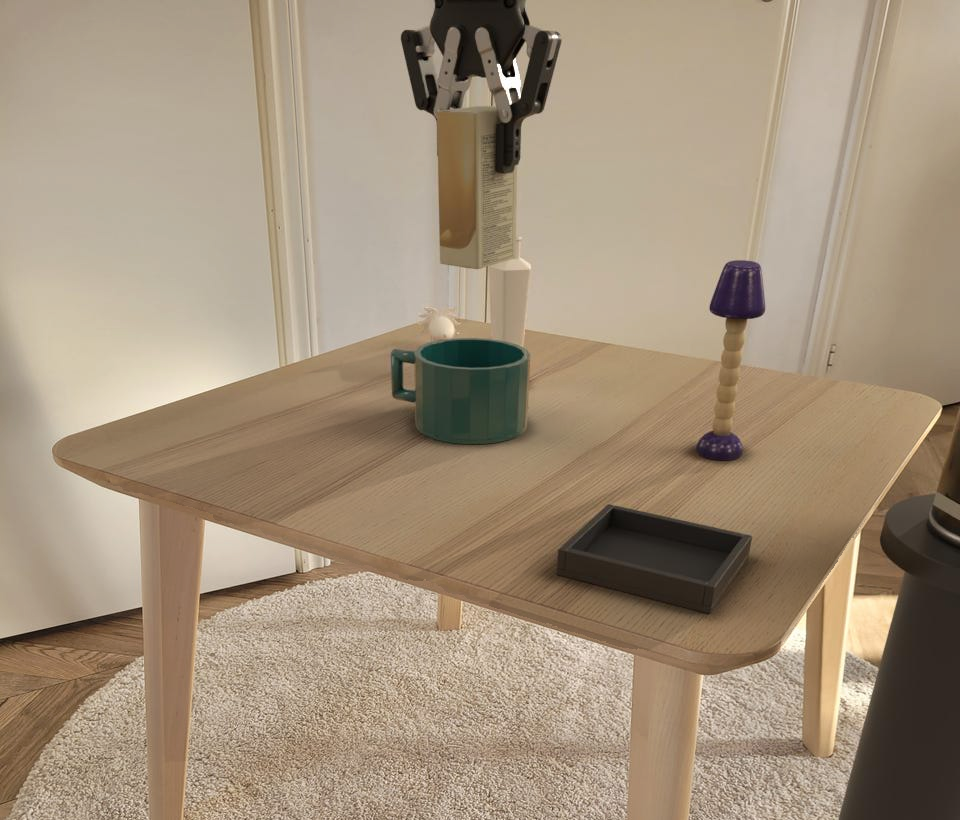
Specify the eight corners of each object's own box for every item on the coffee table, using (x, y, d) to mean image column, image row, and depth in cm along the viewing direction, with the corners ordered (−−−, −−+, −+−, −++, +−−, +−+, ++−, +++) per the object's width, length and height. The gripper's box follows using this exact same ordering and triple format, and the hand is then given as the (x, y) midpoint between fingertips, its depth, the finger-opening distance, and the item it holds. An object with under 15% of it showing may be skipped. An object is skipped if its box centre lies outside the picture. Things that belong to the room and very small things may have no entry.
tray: (748, 560, 73) (752, 535, 72) (710, 614, 66) (714, 587, 65) (605, 527, 77) (607, 503, 76) (556, 574, 70) (557, 549, 69)
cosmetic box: (478, 254, 92) (479, 104, 86) (517, 259, 90) (521, 106, 84) (436, 264, 88) (433, 107, 82) (476, 270, 86) (477, 110, 80)
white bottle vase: (537, 385, 108) (544, 239, 101) (504, 392, 106) (509, 242, 99) (512, 375, 112) (518, 232, 104) (480, 381, 110) (483, 235, 102)
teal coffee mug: (544, 418, 99) (548, 348, 96) (494, 452, 91) (496, 376, 87) (420, 395, 105) (420, 327, 101) (363, 424, 97) (359, 352, 93)
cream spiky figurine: (416, 341, 123) (416, 301, 121) (459, 341, 124) (460, 301, 121) (421, 369, 113) (421, 326, 111) (468, 369, 114) (469, 326, 111)
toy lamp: (738, 465, 89) (769, 270, 81) (686, 458, 91) (711, 265, 82) (745, 447, 93) (775, 259, 84) (695, 441, 94) (720, 255, 86)
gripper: (374, -75, 77) (383, 169, 85) (543, -83, 71) (534, 180, 80) (425, -67, 82) (429, 162, 91) (585, -74, 76) (572, 171, 85)
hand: (478, 169), depth 85 cm, fingers closed on cosmetic box, 4 cm apart
